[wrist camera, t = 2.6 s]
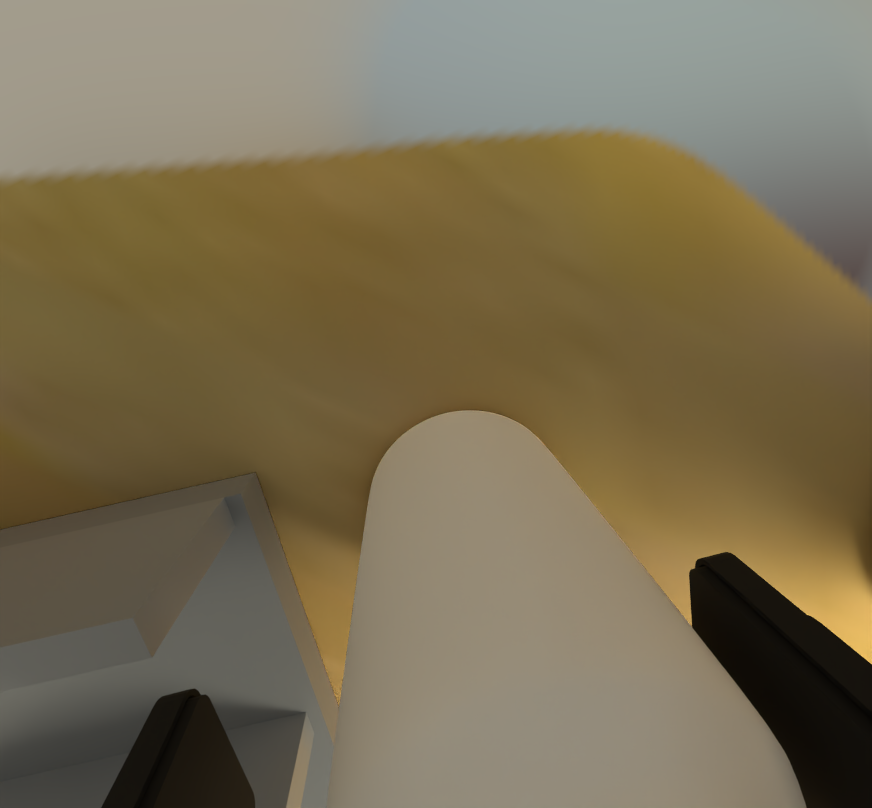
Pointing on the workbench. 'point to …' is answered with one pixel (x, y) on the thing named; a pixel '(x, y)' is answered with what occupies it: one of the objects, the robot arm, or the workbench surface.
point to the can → (526, 649)
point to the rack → (157, 645)
